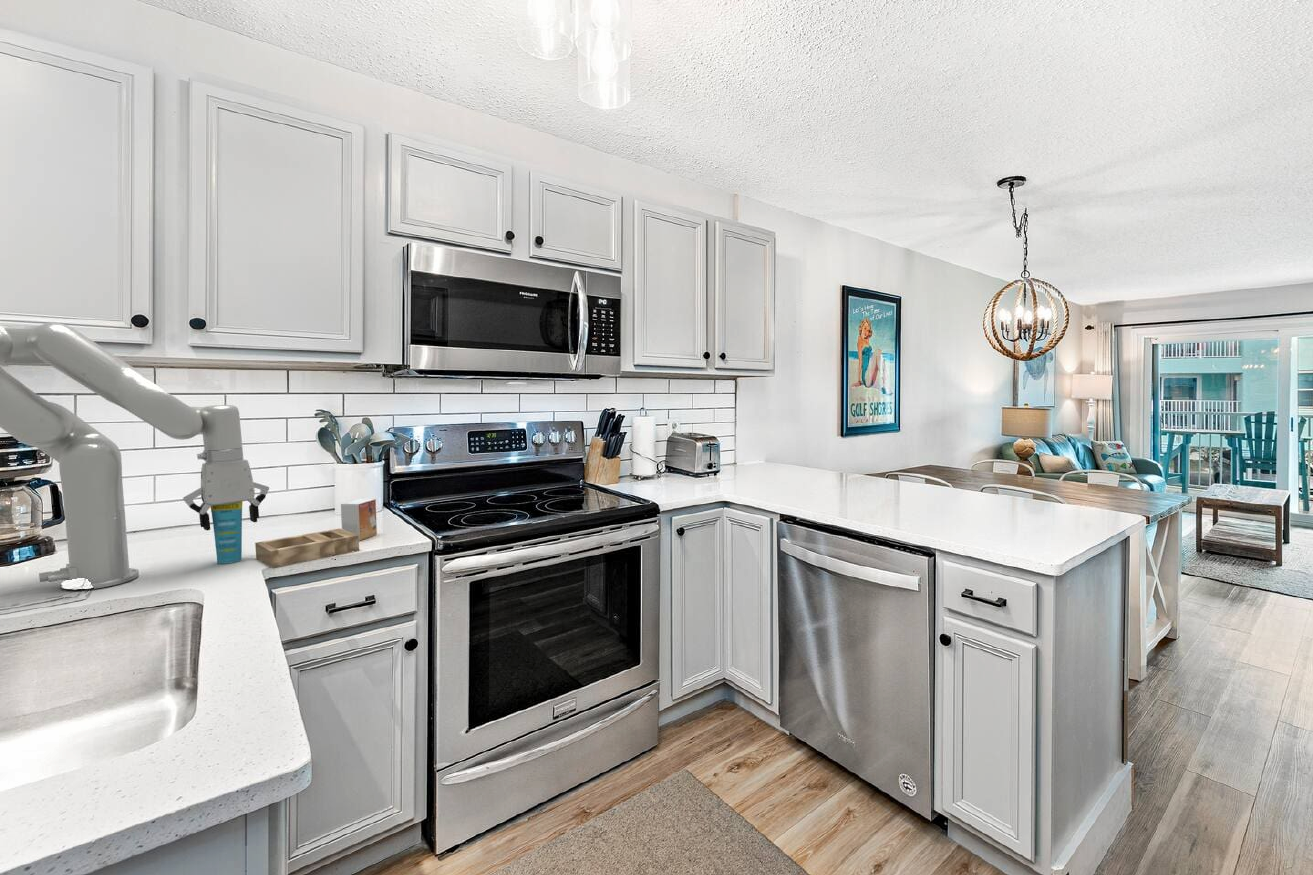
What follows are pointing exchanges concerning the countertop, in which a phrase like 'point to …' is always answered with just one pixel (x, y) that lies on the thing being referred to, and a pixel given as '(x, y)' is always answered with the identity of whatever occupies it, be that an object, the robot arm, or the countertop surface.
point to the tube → (228, 531)
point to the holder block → (306, 547)
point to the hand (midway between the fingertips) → (230, 525)
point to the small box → (359, 517)
